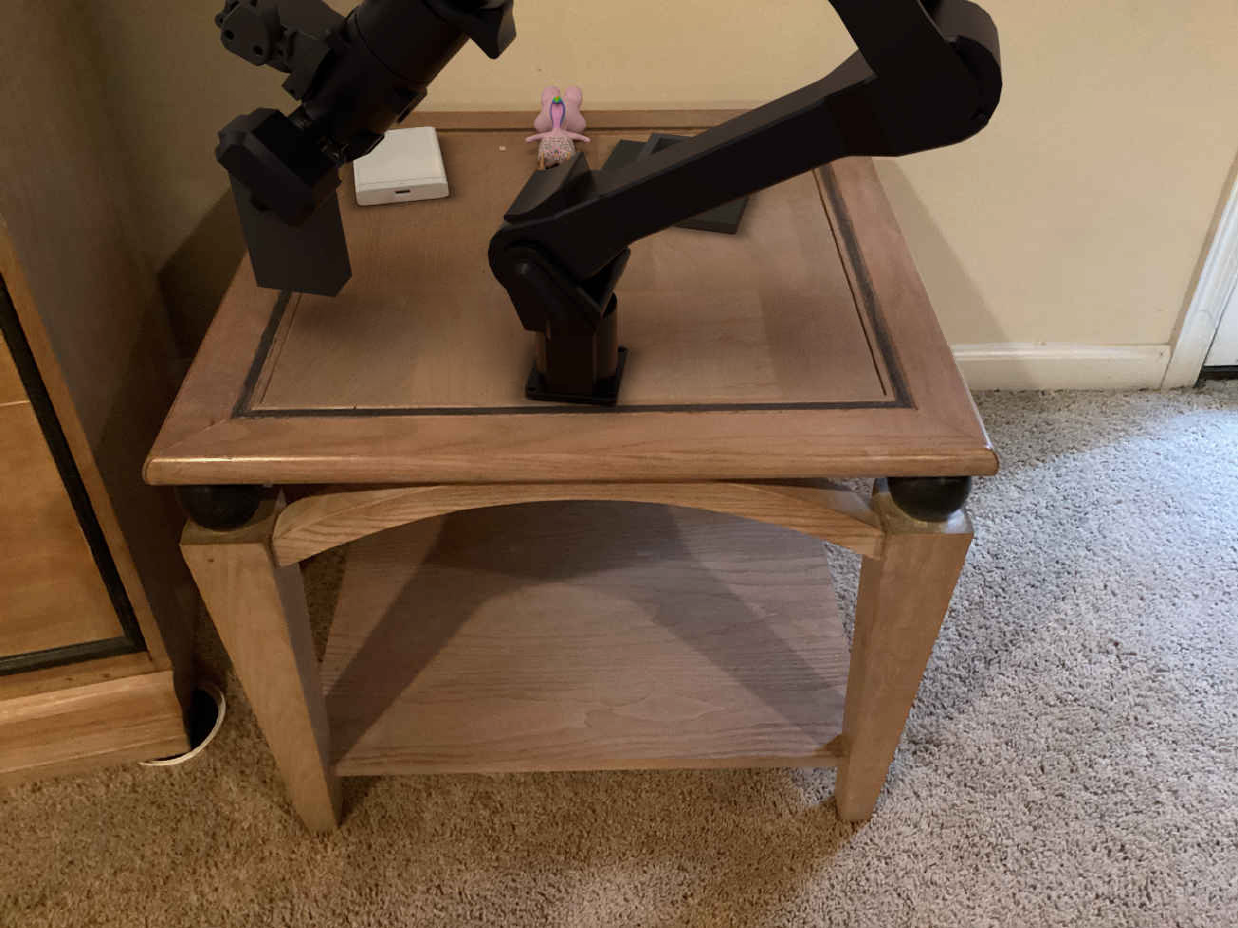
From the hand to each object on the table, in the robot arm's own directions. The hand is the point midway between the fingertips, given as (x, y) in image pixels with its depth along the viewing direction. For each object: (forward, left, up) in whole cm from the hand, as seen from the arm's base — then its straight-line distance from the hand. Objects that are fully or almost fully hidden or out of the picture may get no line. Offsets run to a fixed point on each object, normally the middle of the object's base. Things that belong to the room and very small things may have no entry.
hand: (267, 194), depth 72 cm
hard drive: (+28, +1, -12) cm, 30 cm away
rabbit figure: (+36, -13, -12) cm, 40 cm away
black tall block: (0, -1, -7) cm, 7 cm away
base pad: (+28, -25, -11) cm, 39 cm away
